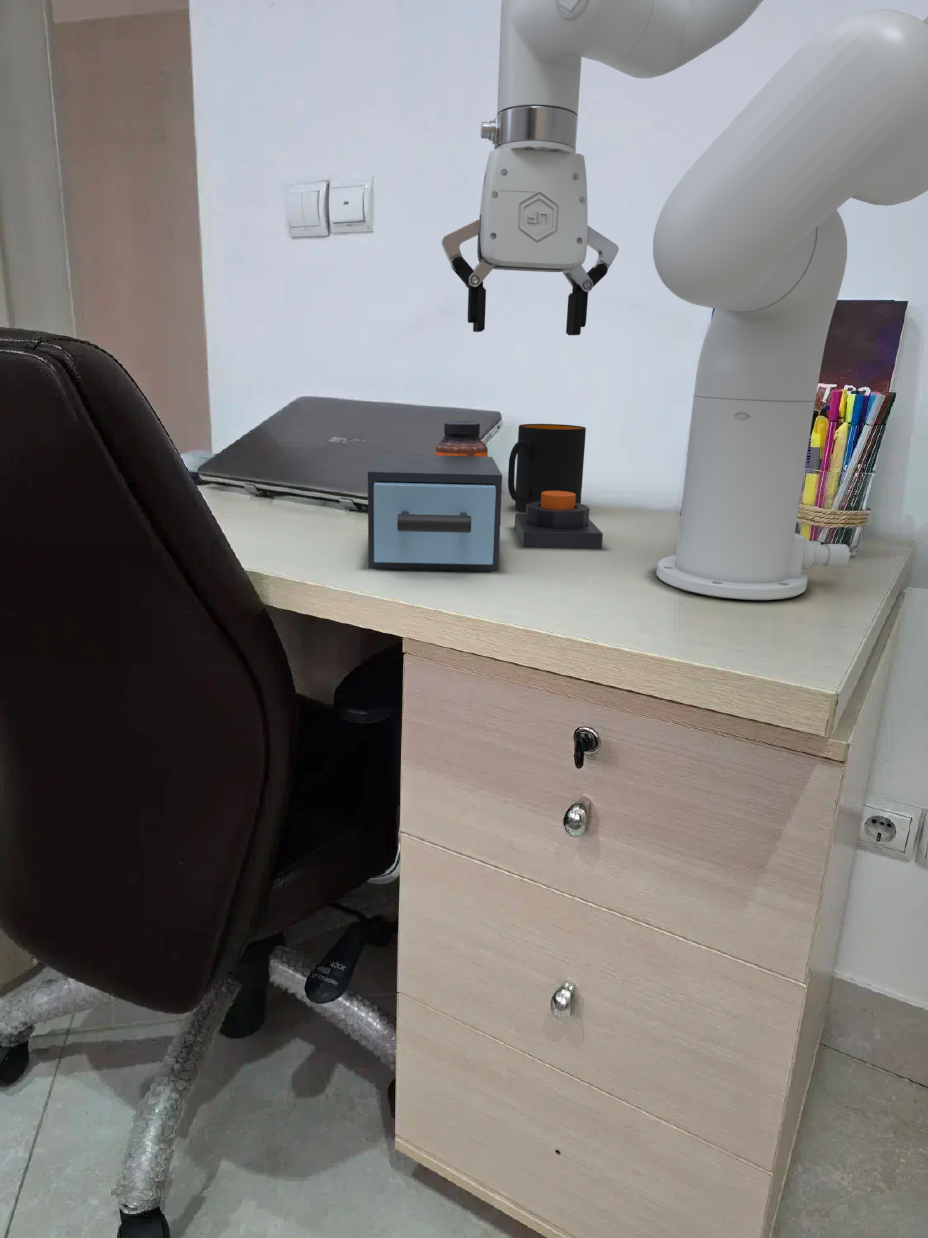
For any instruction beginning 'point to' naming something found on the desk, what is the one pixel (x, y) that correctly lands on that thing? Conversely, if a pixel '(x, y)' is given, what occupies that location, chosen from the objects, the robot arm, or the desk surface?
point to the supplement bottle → (461, 440)
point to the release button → (558, 500)
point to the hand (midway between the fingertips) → (526, 333)
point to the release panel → (557, 528)
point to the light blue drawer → (434, 522)
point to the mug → (546, 462)
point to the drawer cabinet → (437, 472)
